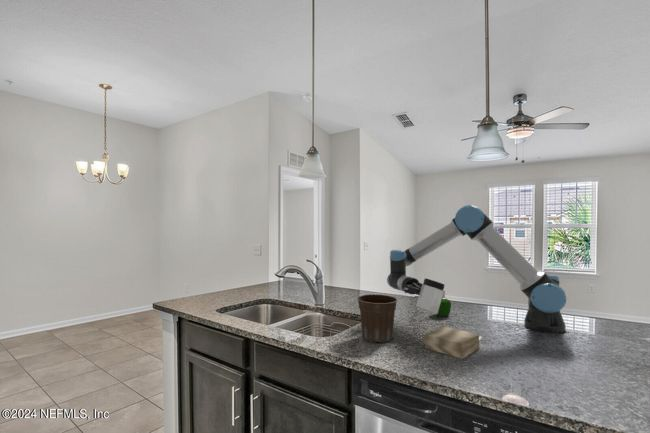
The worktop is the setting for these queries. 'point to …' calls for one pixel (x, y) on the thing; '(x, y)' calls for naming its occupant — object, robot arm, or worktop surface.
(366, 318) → the plant pot
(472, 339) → the maple block
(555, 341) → the worktop surface
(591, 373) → the worktop surface
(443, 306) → the bell pepper
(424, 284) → the jar
